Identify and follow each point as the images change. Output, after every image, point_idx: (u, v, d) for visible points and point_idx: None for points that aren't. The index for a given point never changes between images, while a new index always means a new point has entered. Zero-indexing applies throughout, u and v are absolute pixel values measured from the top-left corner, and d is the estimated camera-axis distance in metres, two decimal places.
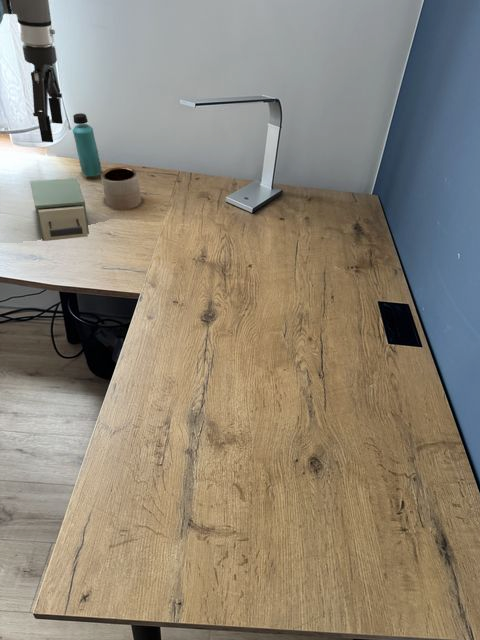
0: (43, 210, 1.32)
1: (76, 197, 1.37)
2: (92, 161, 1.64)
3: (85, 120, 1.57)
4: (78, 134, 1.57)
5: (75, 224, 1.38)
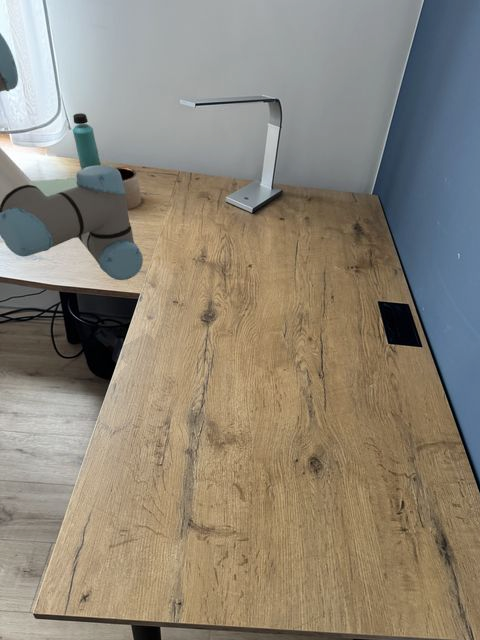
0: None
1: None
2: (92, 161, 1.64)
3: (85, 120, 1.57)
4: (78, 134, 1.57)
5: None
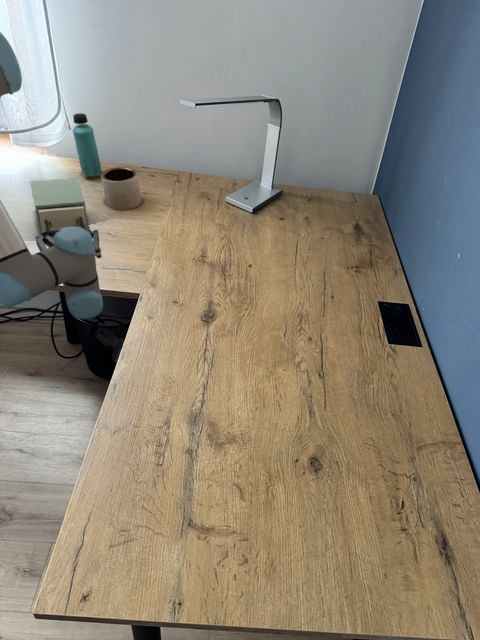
0: (43, 210, 1.32)
1: (76, 197, 1.37)
2: (92, 161, 1.64)
3: (85, 120, 1.57)
4: (78, 134, 1.57)
5: (75, 224, 1.38)
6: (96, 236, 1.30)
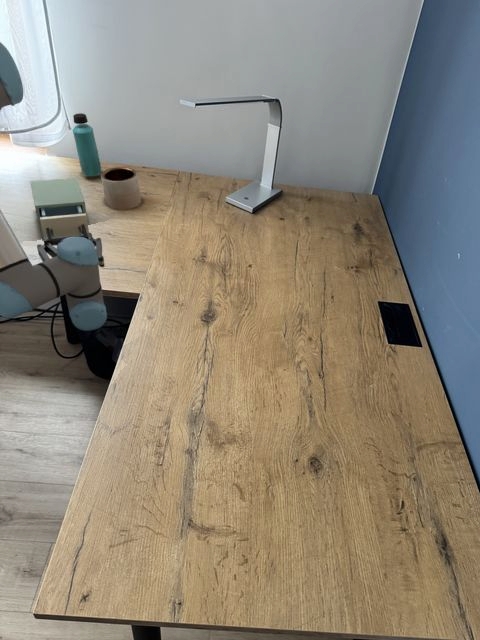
0: (45, 218, 1.30)
1: (76, 197, 1.37)
2: (92, 161, 1.64)
3: (85, 120, 1.57)
4: (78, 134, 1.57)
5: (77, 232, 1.35)
6: (98, 244, 1.27)
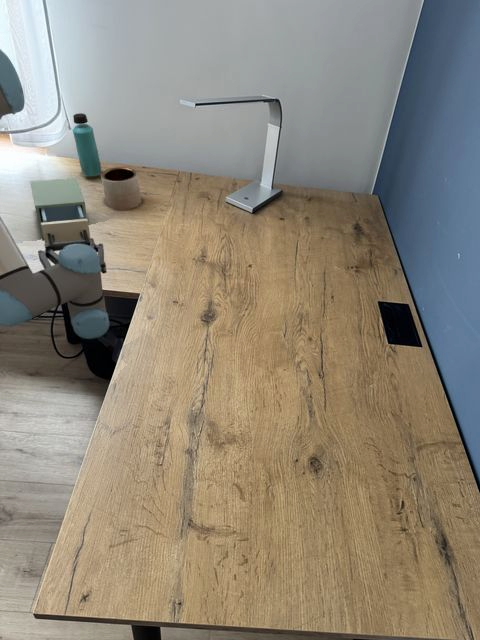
0: (46, 223, 1.28)
1: (76, 197, 1.37)
2: (92, 161, 1.64)
3: (85, 120, 1.57)
4: (78, 134, 1.57)
5: (79, 237, 1.33)
6: (100, 250, 1.25)
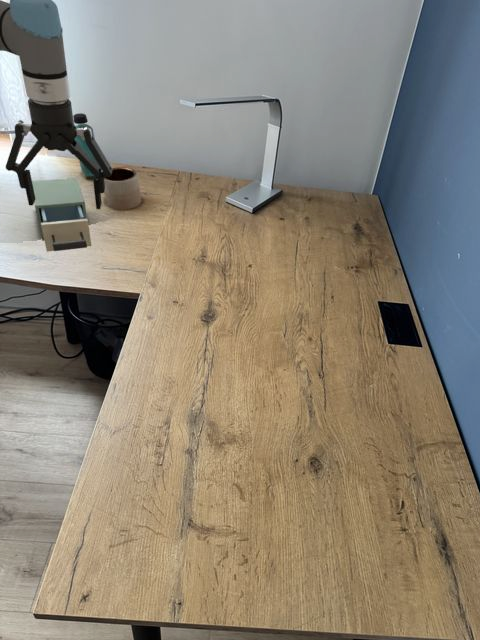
0: (46, 223, 1.28)
1: (76, 197, 1.37)
2: None
3: (85, 120, 1.57)
4: None
5: (79, 237, 1.33)
6: None
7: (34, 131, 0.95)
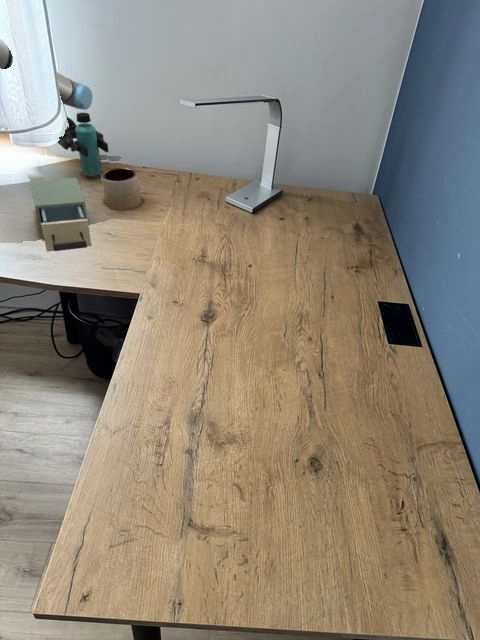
0: (46, 223, 1.28)
1: (76, 197, 1.37)
2: (93, 161, 1.64)
3: (88, 119, 1.57)
4: (80, 133, 1.57)
5: (79, 237, 1.33)
6: (61, 138, 1.61)
7: None
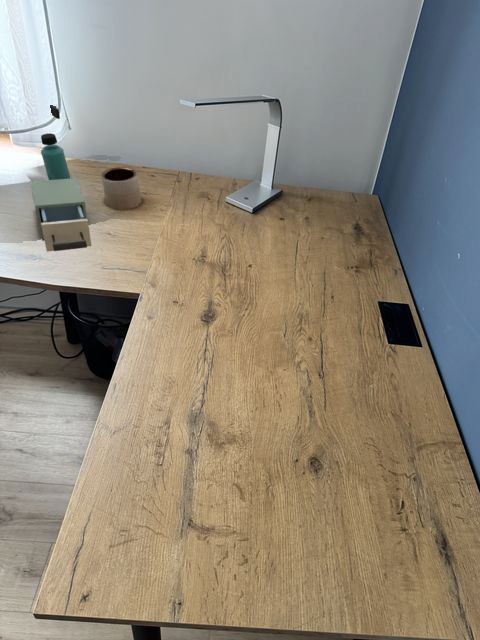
0: (46, 223, 1.28)
1: (76, 197, 1.37)
2: None
3: (54, 141, 1.43)
4: (47, 156, 1.44)
5: (79, 237, 1.33)
6: None
7: None
